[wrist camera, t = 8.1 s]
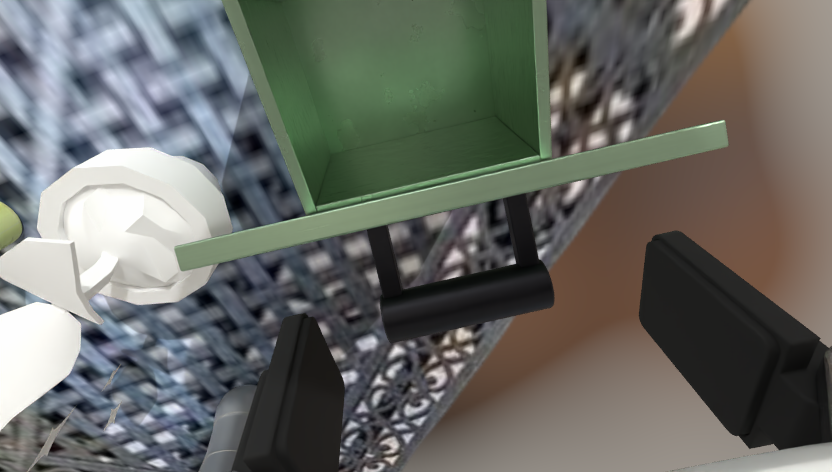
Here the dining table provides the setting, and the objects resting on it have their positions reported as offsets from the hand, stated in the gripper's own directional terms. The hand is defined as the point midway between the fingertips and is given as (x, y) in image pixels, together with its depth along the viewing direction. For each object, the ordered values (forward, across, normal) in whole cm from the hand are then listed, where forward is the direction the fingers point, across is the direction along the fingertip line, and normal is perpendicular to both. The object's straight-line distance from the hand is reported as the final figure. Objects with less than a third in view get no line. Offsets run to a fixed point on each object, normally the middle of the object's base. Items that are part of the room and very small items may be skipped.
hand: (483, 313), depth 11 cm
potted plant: (+28, +22, +3) cm, 35 cm away
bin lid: (+9, 0, 0) cm, 9 cm away
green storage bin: (+28, 0, -3) cm, 28 cm away
